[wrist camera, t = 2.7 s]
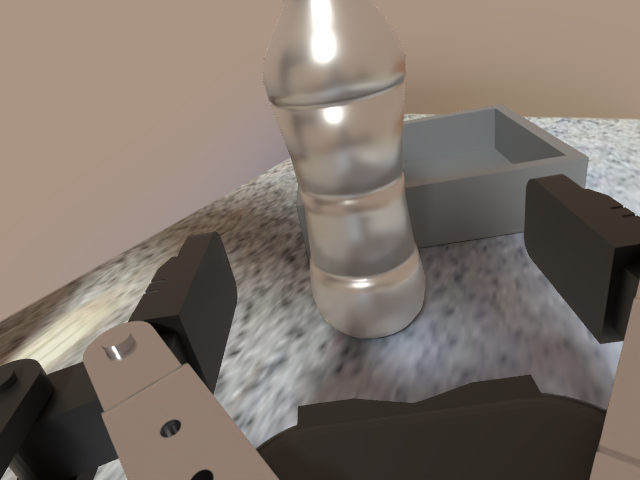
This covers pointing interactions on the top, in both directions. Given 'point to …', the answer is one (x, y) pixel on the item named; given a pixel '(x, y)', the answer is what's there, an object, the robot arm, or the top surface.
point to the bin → (474, 173)
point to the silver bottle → (348, 159)
